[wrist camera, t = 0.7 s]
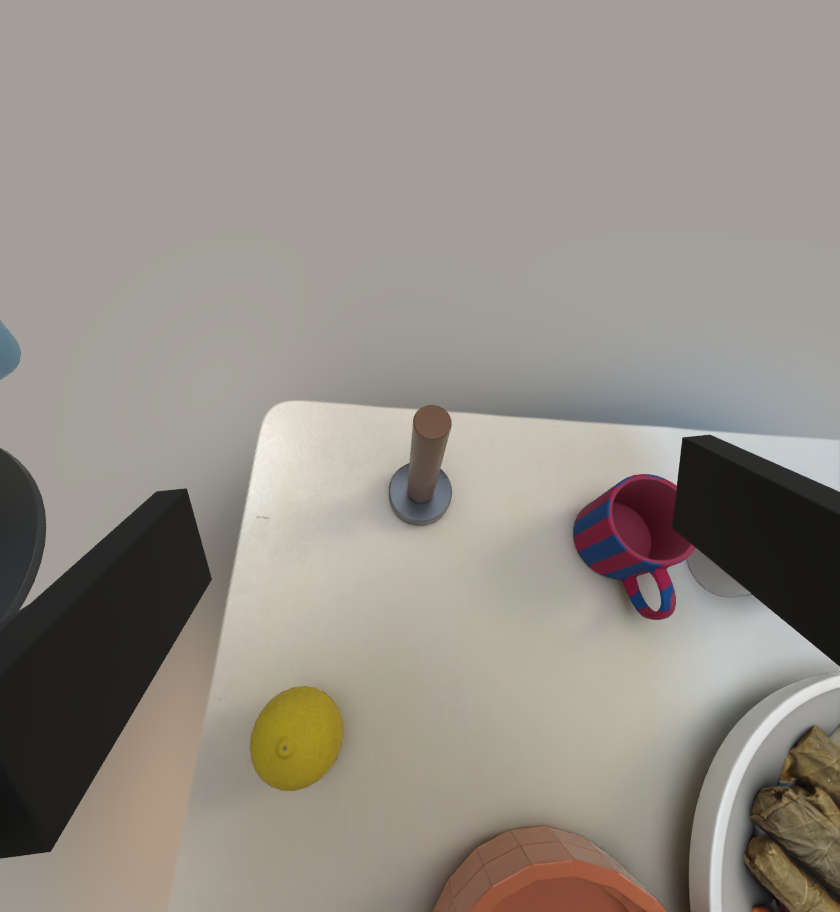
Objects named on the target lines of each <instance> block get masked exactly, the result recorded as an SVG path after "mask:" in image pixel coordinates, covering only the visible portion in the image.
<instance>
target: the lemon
mask: <svg viewBox="0 0 840 912" xmlns="http://www.w3.org/2000/svg"><path fill="white" fill-rule="evenodd" d="M342 737H343V725H342V718H341V715H340V712H339V709H338V707H337V706H336V704H335V703H334V701H333V700H332V699H331V698H330V697H329V696H328V695H327V694H326V693H324V692H322V691H320V690H318V689H316V688H311V687H306V686H304V687H294V688H291V689H289V690H286V691H284V692H282V693H280V694H279V695H277V696H276V697H275V698H273V699H272V700H271V701H270V702H269V703H268V704H267V705H266V706H265V707H264V709H263V710H262V711H261V713H260V715H259V717H258V718H257V720H256V722H255V725H254V728H253V731H252V734H251V743H250V751H251V759H252V763H253V765H254V768H255V770H256V772H257V773H258V775H259V776H260V777H261V779H262V780H263V781H264V782H266V783H267V784H268V785H270V786H271V787H274V788H276V789H279V790H285V791H295V790H299V789H302V788H306V787H308V786H310V785H312V784H313V783H315V782H317V781H318V780H320V779H321V778H322V777H323V776H324V775H325V774H326V773H327V772H328V771H329V769H330V768H331V766H332V765H333V763H334V761H335V760H336V758H337V755H338V753H339V750H340V747H341V744H342Z"/></svg>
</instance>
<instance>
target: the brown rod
mask: <svg viewBox="0 0 840 912" xmlns="http://www.w3.org/2000/svg"><path fill="white" fill-rule="evenodd" d="M450 429H451V418H450V416H449V414H448V413H447V412H446V411H445V410H444V409H443V408H441V407H438V406H435V405H429V406H425V407H423V408H421V409H420V410H418V411H417V413H416V414H415V416H414V419H413V429H412V441H411V452H410V463H409V464H406V465H404V466H403V467H401V468H400V469H399V470H398V471H397V472H396V473H395V474H394V476H393V478H392V479H391V482H390V486H389V500H390V504H391V507H392V509H393V511H394V512H395V514H396V515H397V516H398V517H399V518H400V519H401V520H403V521H404V522H406V523H409V524H412V525H418V526H422V525H428V524H431V523H434V522H436V521H437V520H439V519H440V518H441V517H442V516H443V515H444V513H445V512H446V510H447V508H448V506H449V503H450V500H451V496H452V489H451V484H450V481H449V479H448V477H447V475H446V474H445V473H444V472H443V471H442V470H441V469H440V467H441V463H442V459H443V456H444V452H445V448H446V444H447V440H448V437H449V433H450Z"/></svg>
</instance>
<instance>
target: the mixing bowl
mask: <svg viewBox="0 0 840 912" xmlns="http://www.w3.org/2000/svg"><path fill="white" fill-rule="evenodd" d="M433 912H667V911H666V909H665V908H664V907H663V906H662V904H661V903H660V902H659V901H658V900H657V899H656V898H655V897H654V896H653V895H652V894H651V893H650V892H649V891H648V890H647V889H646V888H645V887H644V886H643V885H642V884H641V883H640V882H639V881H637V880H636V879H635V878H634V877H633V876H632V875H631V874H630V873H629V872H628V871H627V870H626V869H625V868H624V867H623V866H622V865H621V864H620V863H619V862H618V861H617V860H616V859H614V858H613V857H611V856H610V855H609V854H607V853H606V852H604V851H603V850H602V849H600V848H599V847H597V846H596V845H595V844H593V843H592V842H590V841H589V840H587V839H586V838H585V837H583V836H580V835H576V834H573V833H570V832H566V831H563V830H559V829H556V828H552V827H549V826H541V827H531V828H521V829H512V830H508V831H507V832H505V833H503V834H501V835H499V836H497V837H495V838H493V839H492V840H490V841H488V842H486V843H484V844H482V845H480V846H478V847H477V849H475V850H474V851H473V852H472V853H471V854H470V855H469V856H468V858H467V859H466V860H465V861H464V862H463V863H462V864H461V865H460V866H459V868H458V869H457V870H456V871H455V872H454V873H453V874H452V875H451V876H450V878H449V879H448V881H447V882H446V884H445V886H444V889H443V891H442V893H441V895H440V897H439V899H438V901H437V903H436V906H435V908H434V910H433Z"/></svg>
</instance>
